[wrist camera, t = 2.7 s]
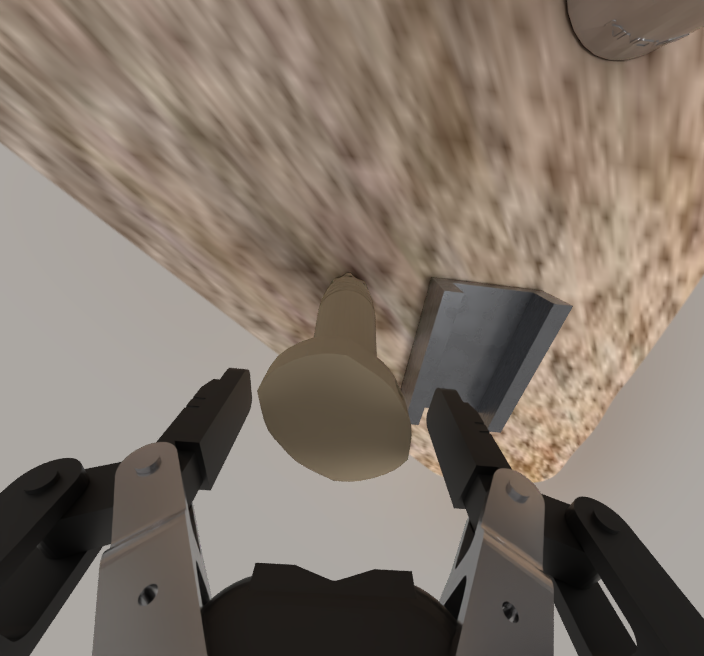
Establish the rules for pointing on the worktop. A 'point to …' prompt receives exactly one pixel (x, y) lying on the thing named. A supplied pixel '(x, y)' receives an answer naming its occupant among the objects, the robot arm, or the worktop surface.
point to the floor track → (480, 346)
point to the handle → (338, 393)
